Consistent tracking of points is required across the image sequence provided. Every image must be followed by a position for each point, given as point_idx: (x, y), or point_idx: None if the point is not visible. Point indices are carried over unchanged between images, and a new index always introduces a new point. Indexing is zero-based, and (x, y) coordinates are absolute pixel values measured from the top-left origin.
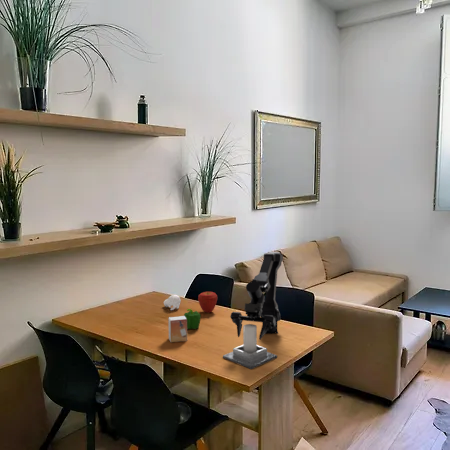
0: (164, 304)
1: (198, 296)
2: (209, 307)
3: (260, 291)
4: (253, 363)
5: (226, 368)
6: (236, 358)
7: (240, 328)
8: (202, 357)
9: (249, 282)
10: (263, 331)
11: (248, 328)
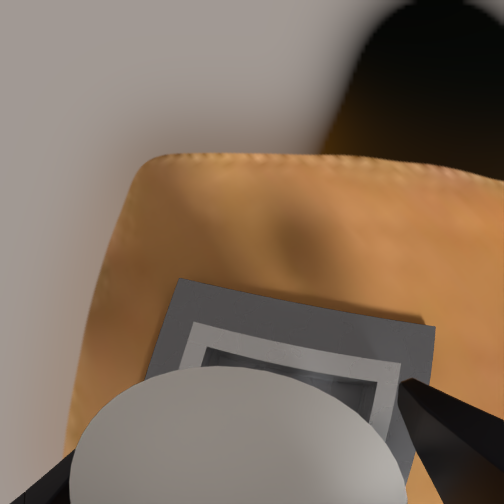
0: None
1: None
2: None
3: None
4: (185, 328)
5: (316, 222)
6: (332, 339)
7: (464, 499)
8: (500, 265)
9: None
10: (33, 496)
11: (176, 374)
